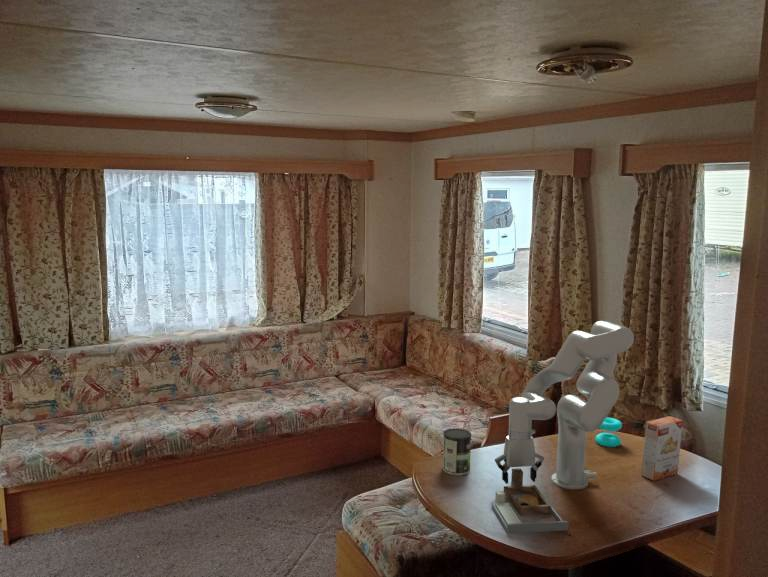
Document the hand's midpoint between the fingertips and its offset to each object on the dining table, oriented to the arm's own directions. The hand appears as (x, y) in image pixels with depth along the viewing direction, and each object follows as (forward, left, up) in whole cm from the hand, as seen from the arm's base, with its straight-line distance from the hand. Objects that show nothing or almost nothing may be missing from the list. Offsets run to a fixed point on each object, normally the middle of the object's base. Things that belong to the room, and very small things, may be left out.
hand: (519, 481), depth 220 cm
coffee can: (+18, -18, -4) cm, 26 cm away
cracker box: (-56, -7, -4) cm, 57 cm away
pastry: (+1, +12, -4) cm, 13 cm away
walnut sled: (+1, +8, -3) cm, 9 cm away
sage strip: (+10, +18, -3) cm, 21 cm away
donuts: (-51, -38, -4) cm, 64 cm away
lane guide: (+4, +20, -3) cm, 20 cm away
